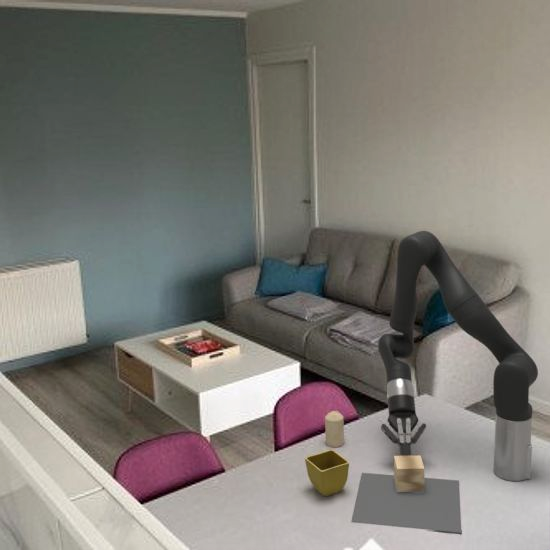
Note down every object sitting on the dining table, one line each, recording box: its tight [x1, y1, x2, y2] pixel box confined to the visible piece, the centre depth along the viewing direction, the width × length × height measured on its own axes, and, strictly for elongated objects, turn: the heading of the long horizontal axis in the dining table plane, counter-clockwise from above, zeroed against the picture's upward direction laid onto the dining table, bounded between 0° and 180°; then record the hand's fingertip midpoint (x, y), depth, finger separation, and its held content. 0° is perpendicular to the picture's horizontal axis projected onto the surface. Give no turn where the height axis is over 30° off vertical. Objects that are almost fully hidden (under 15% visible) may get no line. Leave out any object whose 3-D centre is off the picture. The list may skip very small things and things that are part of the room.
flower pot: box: [304, 449, 350, 497], centre depth 183 cm, size 9×9×9 cm
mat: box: [350, 472, 462, 535], centre depth 177 cm, size 26×24×1 cm
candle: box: [324, 410, 345, 448], centre depth 209 cm, size 6×6×10 cm
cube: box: [393, 455, 425, 493], centre depth 183 cm, size 7×7×7 cm
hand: (406, 458), depth 189 cm, fingers closed
